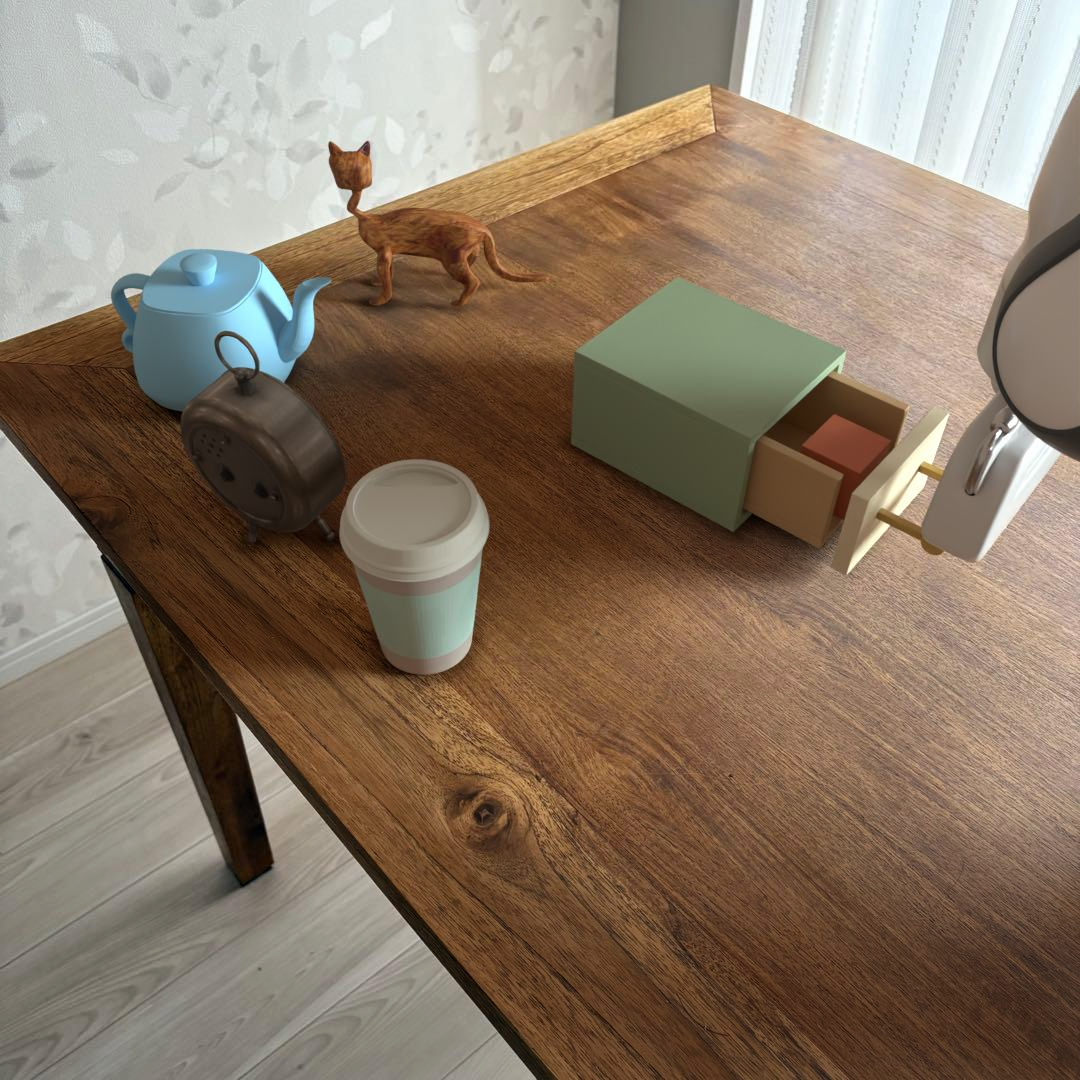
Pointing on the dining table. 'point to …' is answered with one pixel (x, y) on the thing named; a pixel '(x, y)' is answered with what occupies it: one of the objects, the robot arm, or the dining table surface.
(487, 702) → the dining table surface
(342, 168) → the cat figurine
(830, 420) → the block
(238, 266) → the teapot
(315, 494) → the alarm clock
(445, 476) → the coffee cup
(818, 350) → the cabinet
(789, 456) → the drawer
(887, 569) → the dining table surface
